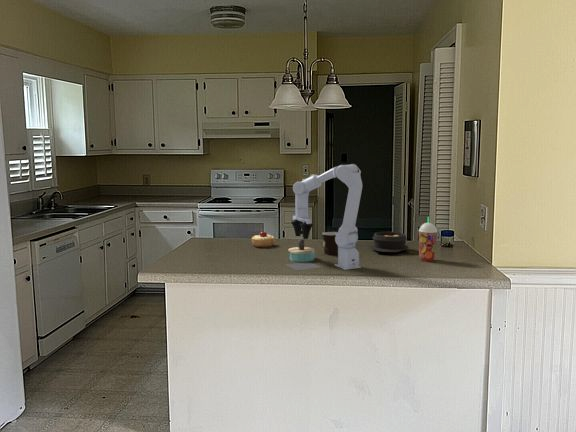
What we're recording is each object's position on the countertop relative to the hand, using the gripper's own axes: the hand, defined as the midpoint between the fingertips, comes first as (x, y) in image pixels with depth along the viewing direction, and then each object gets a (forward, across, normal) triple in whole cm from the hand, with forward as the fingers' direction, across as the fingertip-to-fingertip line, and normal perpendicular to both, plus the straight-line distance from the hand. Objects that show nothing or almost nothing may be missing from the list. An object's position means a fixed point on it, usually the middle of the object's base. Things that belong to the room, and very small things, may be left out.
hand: (301, 237), depth 251 cm
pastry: (+11, -39, -3) cm, 40 cm away
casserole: (+11, +1, +48) cm, 49 cm away
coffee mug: (+11, -6, +19) cm, 23 cm away
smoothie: (+11, +27, +50) cm, 58 cm away
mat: (+10, +13, -6) cm, 18 cm away
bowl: (+10, 0, 0) cm, 10 cm away
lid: (+6, 0, 0) cm, 6 cm away
